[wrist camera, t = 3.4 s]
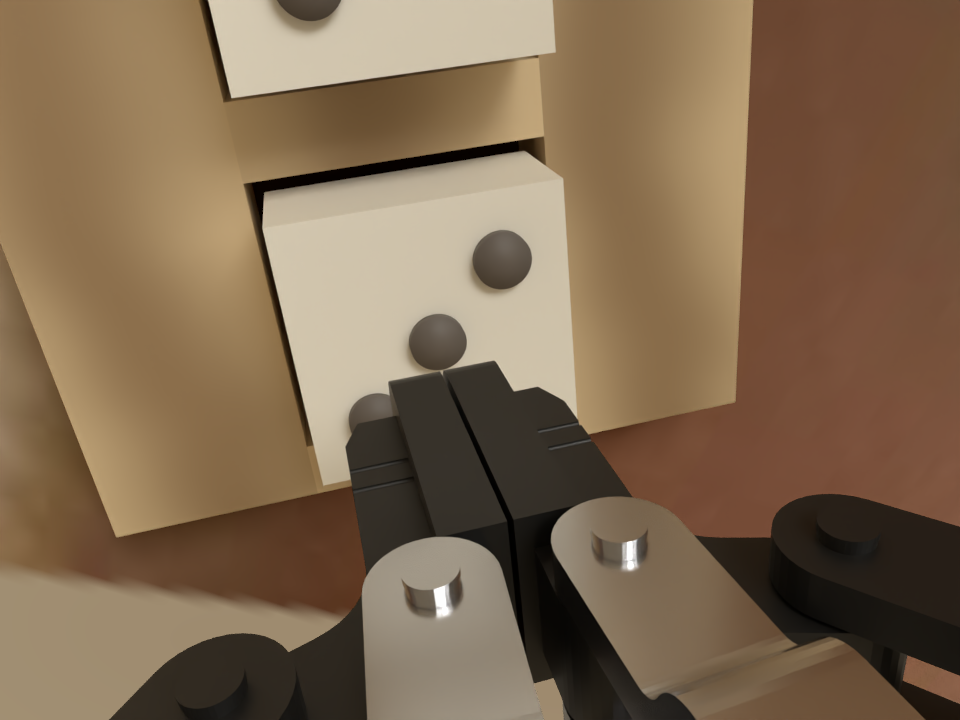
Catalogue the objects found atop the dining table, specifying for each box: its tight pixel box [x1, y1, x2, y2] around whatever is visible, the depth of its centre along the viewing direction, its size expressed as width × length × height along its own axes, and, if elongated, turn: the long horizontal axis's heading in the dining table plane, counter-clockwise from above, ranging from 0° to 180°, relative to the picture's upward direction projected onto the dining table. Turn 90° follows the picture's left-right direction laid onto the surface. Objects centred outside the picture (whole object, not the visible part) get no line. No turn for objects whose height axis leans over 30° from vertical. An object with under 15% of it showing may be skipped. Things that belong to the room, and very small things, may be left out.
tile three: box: [262, 151, 577, 486], centre depth 15 cm, size 5×5×3 cm
